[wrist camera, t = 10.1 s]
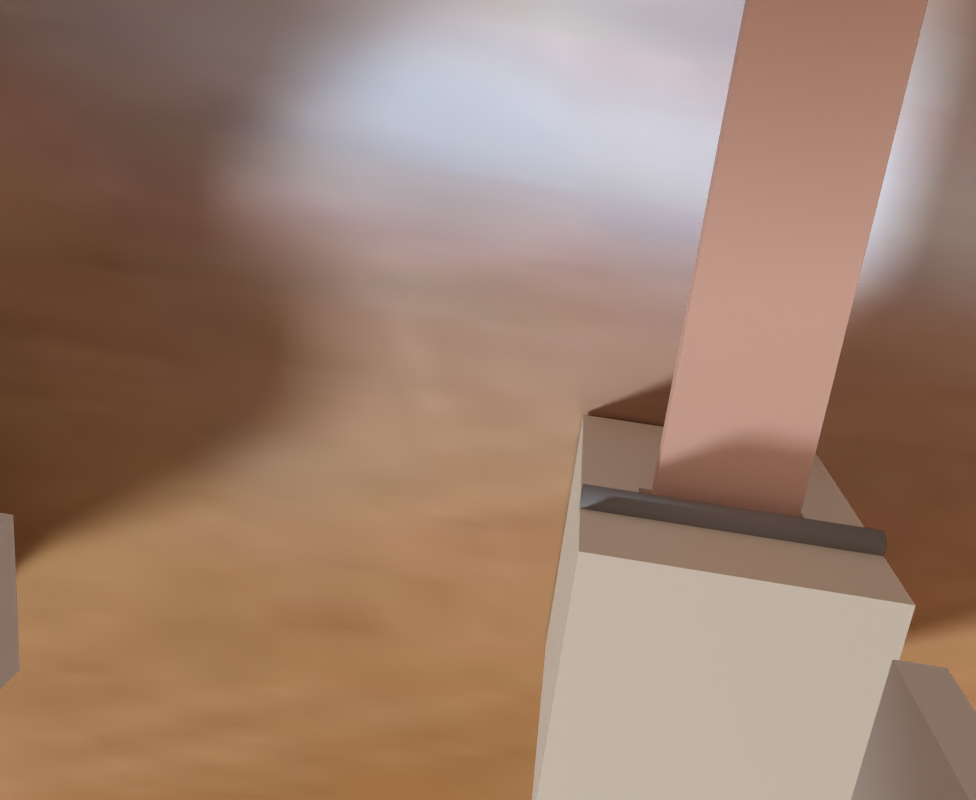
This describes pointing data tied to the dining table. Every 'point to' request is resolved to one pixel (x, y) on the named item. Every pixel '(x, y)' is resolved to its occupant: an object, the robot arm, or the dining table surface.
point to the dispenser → (710, 639)
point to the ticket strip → (783, 245)
